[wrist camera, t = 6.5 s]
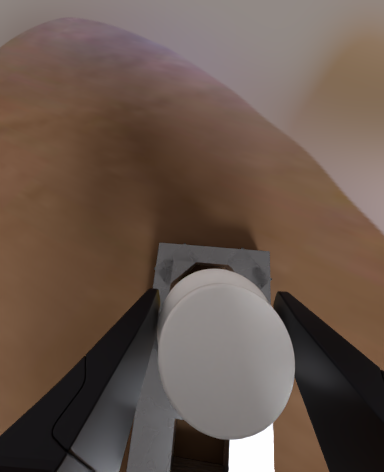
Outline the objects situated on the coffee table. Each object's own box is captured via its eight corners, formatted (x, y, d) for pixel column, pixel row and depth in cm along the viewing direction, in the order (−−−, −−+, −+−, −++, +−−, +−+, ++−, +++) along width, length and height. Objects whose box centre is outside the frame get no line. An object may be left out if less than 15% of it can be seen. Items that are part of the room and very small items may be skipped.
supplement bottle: (168, 333, 14) (102, 431, 5) (186, 267, 15) (163, 240, 6) (235, 355, 14) (313, 517, 4) (248, 284, 15) (330, 283, 5)
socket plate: (264, 524, 13) (278, 579, 11) (128, 498, 14) (113, 544, 11) (262, 254, 18) (271, 249, 16) (163, 246, 19) (157, 240, 17)
